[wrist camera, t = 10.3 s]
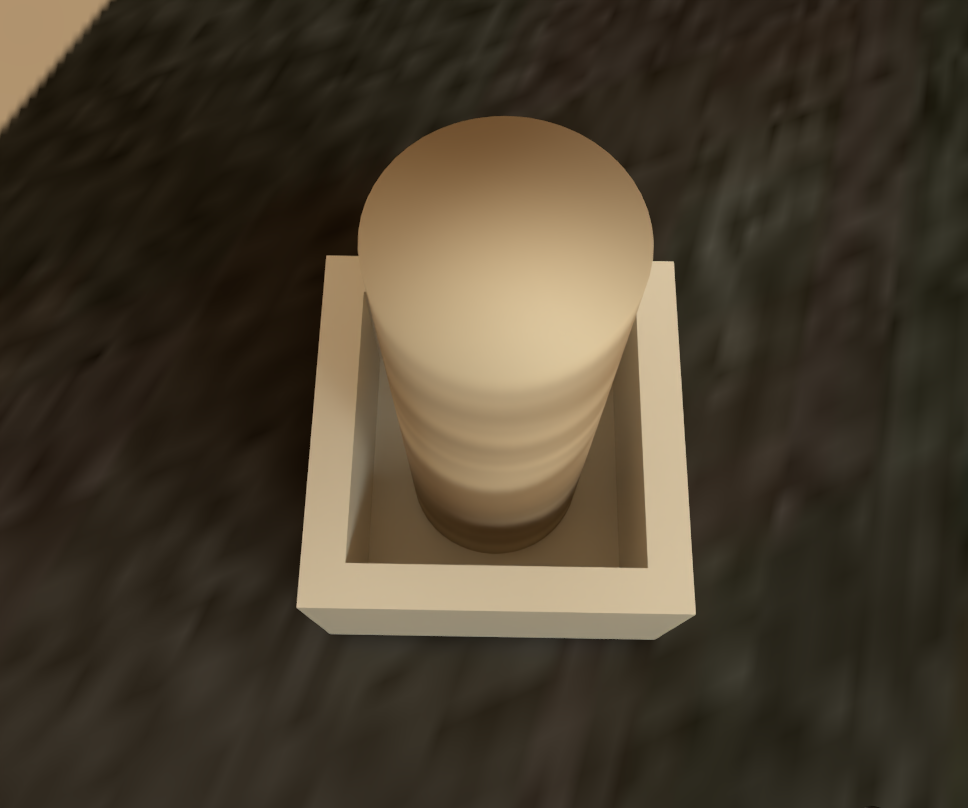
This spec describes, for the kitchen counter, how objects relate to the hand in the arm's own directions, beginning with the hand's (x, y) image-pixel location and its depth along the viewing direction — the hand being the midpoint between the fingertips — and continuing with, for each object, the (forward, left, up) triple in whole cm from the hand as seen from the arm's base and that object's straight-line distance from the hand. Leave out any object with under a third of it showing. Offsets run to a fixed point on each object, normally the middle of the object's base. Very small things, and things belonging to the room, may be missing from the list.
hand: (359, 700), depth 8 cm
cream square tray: (+5, -1, -12) cm, 13 cm away
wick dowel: (+5, -1, -11) cm, 12 cm away
